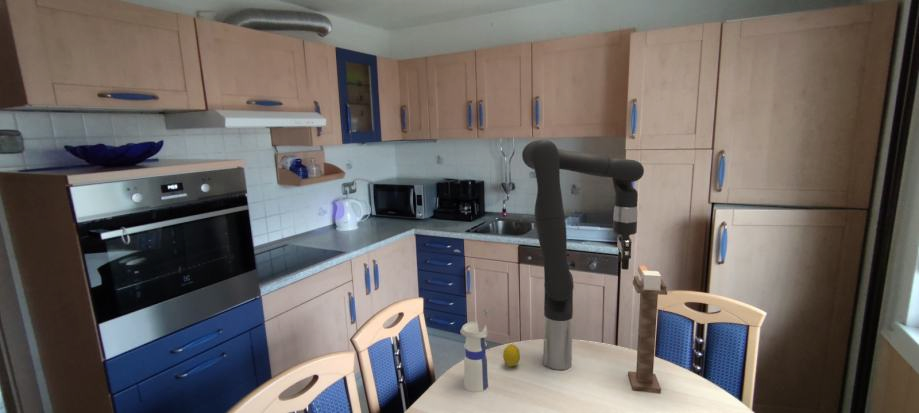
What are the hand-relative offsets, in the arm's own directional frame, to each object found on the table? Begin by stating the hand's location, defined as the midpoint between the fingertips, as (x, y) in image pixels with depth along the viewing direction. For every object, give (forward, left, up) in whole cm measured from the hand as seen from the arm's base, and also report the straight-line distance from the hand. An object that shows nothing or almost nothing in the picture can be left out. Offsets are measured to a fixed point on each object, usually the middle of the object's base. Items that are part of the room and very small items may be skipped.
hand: (623, 265), depth 146 cm
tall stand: (+5, -20, -31) cm, 38 cm away
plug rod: (+5, -16, +1) cm, 16 cm away
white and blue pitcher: (-46, -30, -32) cm, 64 cm away
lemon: (-36, -18, -32) cm, 52 cm away
